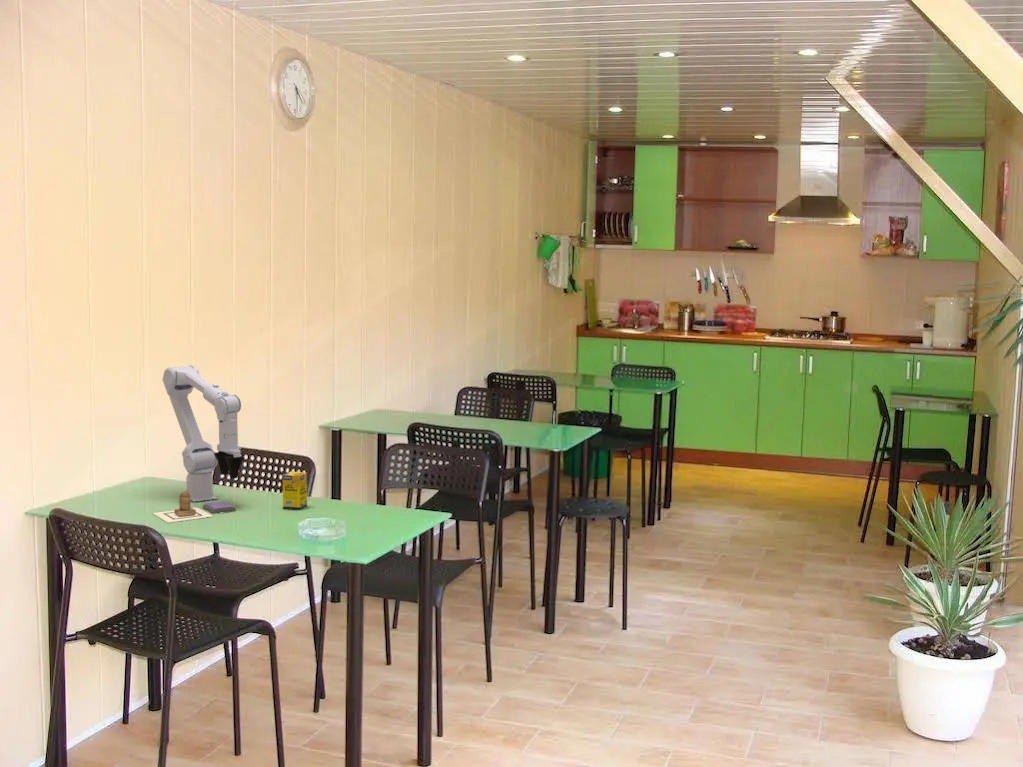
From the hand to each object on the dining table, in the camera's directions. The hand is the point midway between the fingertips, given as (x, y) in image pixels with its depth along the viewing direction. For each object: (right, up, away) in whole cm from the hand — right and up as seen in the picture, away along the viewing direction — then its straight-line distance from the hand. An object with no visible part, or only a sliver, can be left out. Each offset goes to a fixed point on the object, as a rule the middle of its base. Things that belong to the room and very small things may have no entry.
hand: (229, 476), depth 361 cm
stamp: (-10, -11, -12) cm, 19 cm away
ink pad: (-2, -10, -5) cm, 11 cm away
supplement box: (+21, -10, -1) cm, 23 cm away
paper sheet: (-11, -11, -13) cm, 20 cm away
